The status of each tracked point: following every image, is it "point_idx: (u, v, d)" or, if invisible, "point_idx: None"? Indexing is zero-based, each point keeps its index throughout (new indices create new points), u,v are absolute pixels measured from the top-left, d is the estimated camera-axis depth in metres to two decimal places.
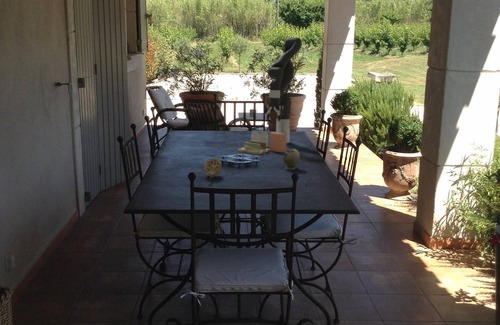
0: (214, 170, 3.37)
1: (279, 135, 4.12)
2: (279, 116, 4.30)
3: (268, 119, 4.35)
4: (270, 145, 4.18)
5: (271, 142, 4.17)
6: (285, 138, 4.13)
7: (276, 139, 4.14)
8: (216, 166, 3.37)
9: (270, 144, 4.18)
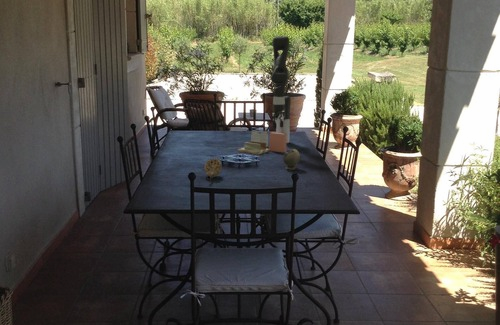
0: (214, 170, 3.37)
1: (279, 135, 4.12)
2: (283, 122, 4.17)
3: None
4: (270, 145, 4.18)
5: (271, 142, 4.17)
6: (285, 138, 4.13)
7: (276, 139, 4.14)
8: (216, 166, 3.37)
9: (270, 144, 4.18)
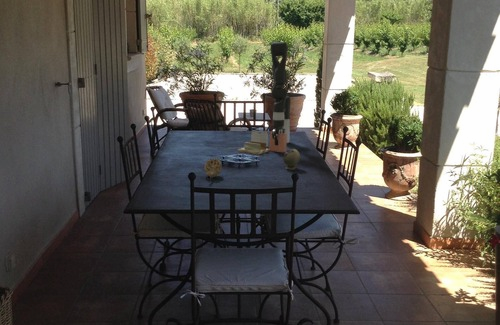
0: (214, 170, 3.37)
1: (279, 135, 4.12)
2: None
3: (276, 144, 4.15)
4: (270, 145, 4.18)
5: (271, 142, 4.17)
6: (285, 138, 4.13)
7: None
8: (216, 166, 3.37)
9: (270, 144, 4.18)
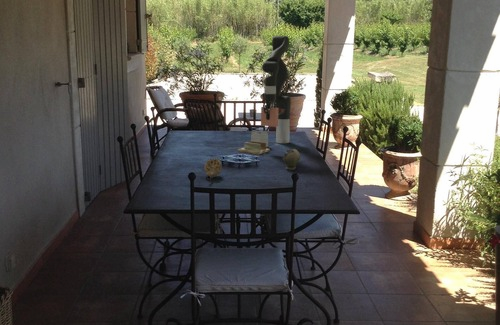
0: (214, 170, 3.37)
1: (271, 109, 4.08)
2: None
3: None
4: (262, 120, 4.13)
5: (263, 117, 4.12)
6: (277, 112, 4.08)
7: None
8: (216, 166, 3.37)
9: (262, 119, 4.12)
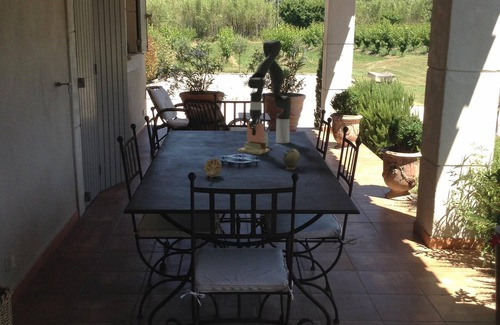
0: (214, 170, 3.37)
1: (256, 125, 4.08)
2: None
3: (254, 134, 4.11)
4: (248, 135, 4.14)
5: (249, 132, 4.13)
6: (263, 128, 4.09)
7: None
8: (216, 166, 3.37)
9: (248, 134, 4.14)
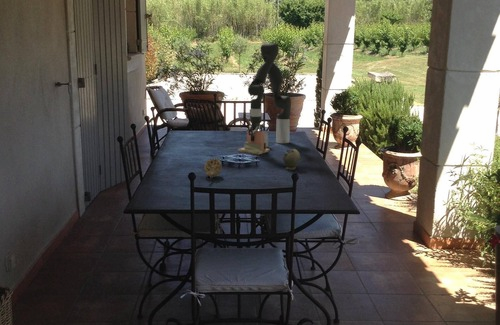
0: (214, 170, 3.37)
1: (256, 133, 4.10)
2: None
3: (253, 140, 4.11)
4: None
5: (249, 140, 4.14)
6: (262, 136, 4.10)
7: None
8: (216, 166, 3.37)
9: (248, 142, 4.15)
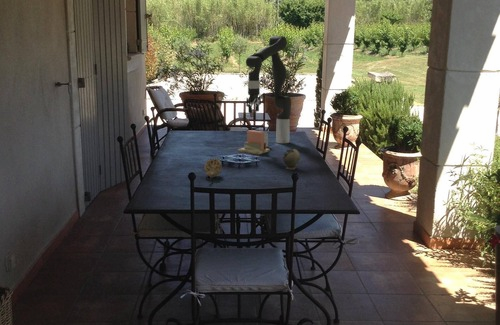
0: (214, 170, 3.37)
1: (256, 133, 4.10)
2: (258, 106, 4.17)
3: None
4: None
5: (249, 140, 4.14)
6: (262, 136, 4.10)
7: (253, 137, 4.11)
8: (216, 166, 3.37)
9: (248, 142, 4.15)
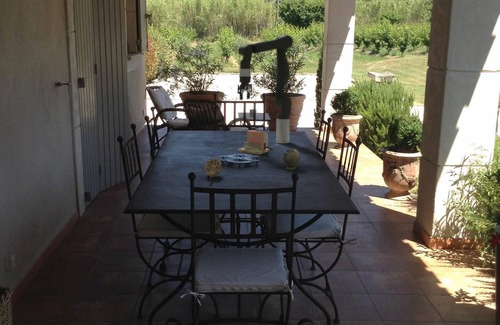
0: (214, 170, 3.37)
1: (256, 133, 4.10)
2: (249, 94, 4.30)
3: None
4: None
5: (249, 140, 4.14)
6: (262, 136, 4.10)
7: (253, 137, 4.11)
8: (216, 166, 3.37)
9: (248, 142, 4.15)
